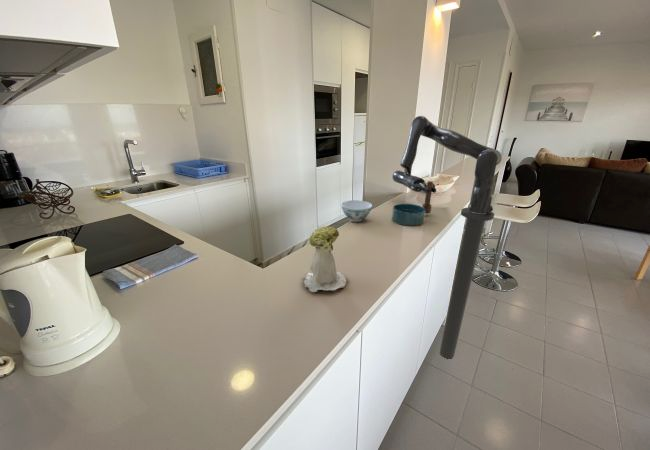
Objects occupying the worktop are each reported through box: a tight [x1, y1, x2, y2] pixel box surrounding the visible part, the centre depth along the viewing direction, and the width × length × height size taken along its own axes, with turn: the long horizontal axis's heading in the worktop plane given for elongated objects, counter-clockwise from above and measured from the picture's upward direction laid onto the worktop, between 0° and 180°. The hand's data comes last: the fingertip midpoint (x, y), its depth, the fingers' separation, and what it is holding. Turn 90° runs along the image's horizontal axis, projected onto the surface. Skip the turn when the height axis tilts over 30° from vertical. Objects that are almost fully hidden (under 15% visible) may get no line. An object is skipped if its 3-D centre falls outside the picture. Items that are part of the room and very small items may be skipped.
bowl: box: [391, 203, 426, 227], centre depth 136 cm, size 15×15×6 cm
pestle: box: [421, 180, 434, 214], centre depth 141 cm, size 4×4×16 cm
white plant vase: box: [303, 226, 347, 293], centre depth 82 cm, size 12×13×18 cm
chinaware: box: [340, 199, 373, 223], centre depth 137 cm, size 15×15×8 cm
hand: (432, 190), depth 137 cm, fingers closed on pestle, 2 cm apart
